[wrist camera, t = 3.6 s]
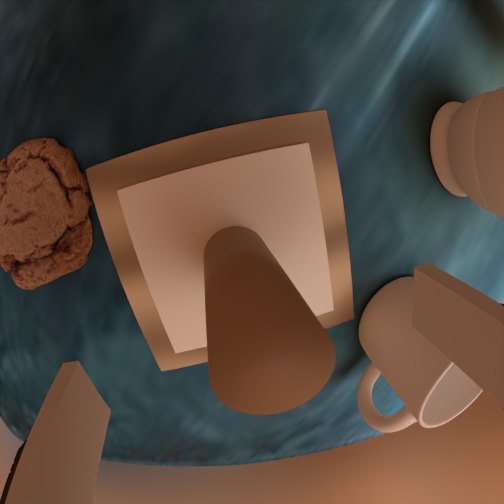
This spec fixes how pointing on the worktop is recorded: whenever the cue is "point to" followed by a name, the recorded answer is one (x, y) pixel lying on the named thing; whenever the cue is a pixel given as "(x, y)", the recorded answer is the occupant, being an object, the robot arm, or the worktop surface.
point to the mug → (408, 365)
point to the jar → (472, 149)
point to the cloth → (204, 152)
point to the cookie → (43, 213)
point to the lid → (241, 273)
